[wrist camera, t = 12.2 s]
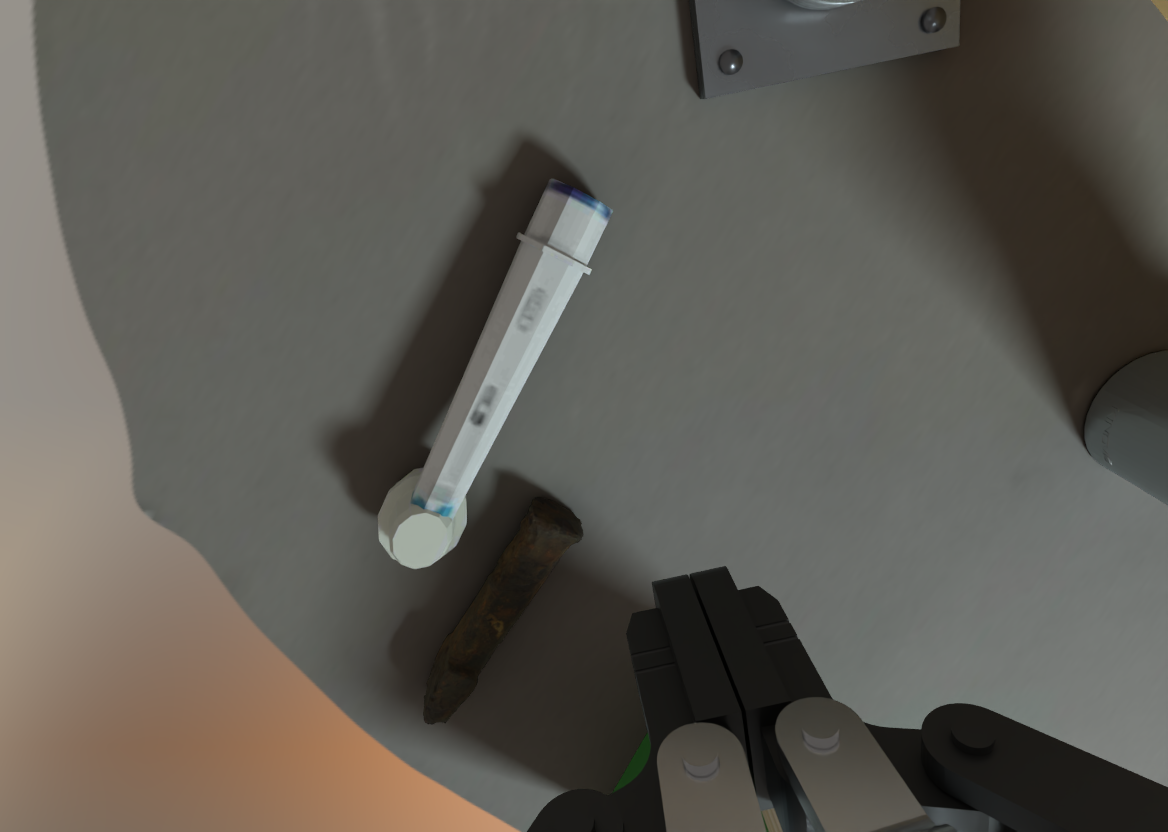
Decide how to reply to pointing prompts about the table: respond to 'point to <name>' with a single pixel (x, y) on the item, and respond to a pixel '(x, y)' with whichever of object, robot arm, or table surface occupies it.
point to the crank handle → (821, 3)
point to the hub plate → (810, 38)
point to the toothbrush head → (494, 375)
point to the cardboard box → (1162, 7)
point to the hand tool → (499, 605)
